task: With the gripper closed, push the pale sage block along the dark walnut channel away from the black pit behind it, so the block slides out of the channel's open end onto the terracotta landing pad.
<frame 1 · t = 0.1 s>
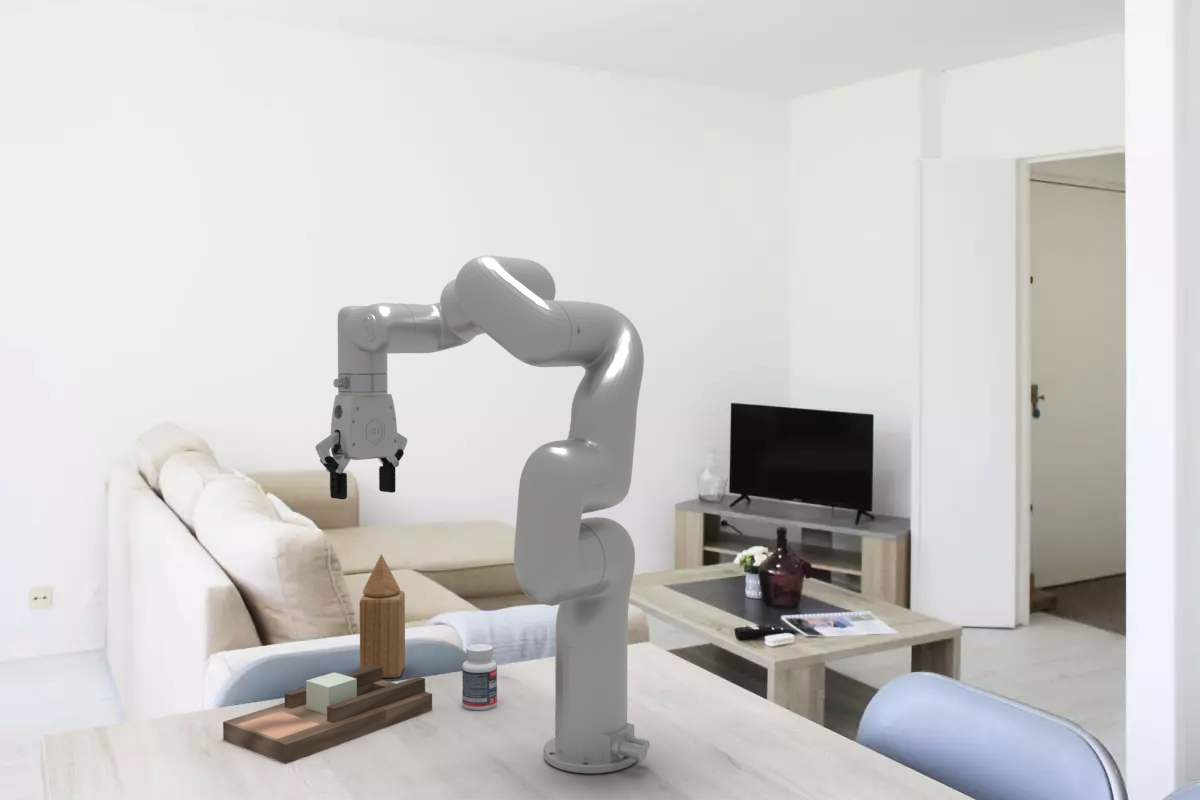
hand: (363, 495, 168), 31 cm above the table, tool pointing down, fingers open, 9 cm apart
sage block: (331, 707, 154), point 2 cm above the table, touching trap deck
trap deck: (331, 724, 154), on the table
pill bottle: (479, 706, 162), on the table
decorative item: (383, 674, 179), on the table
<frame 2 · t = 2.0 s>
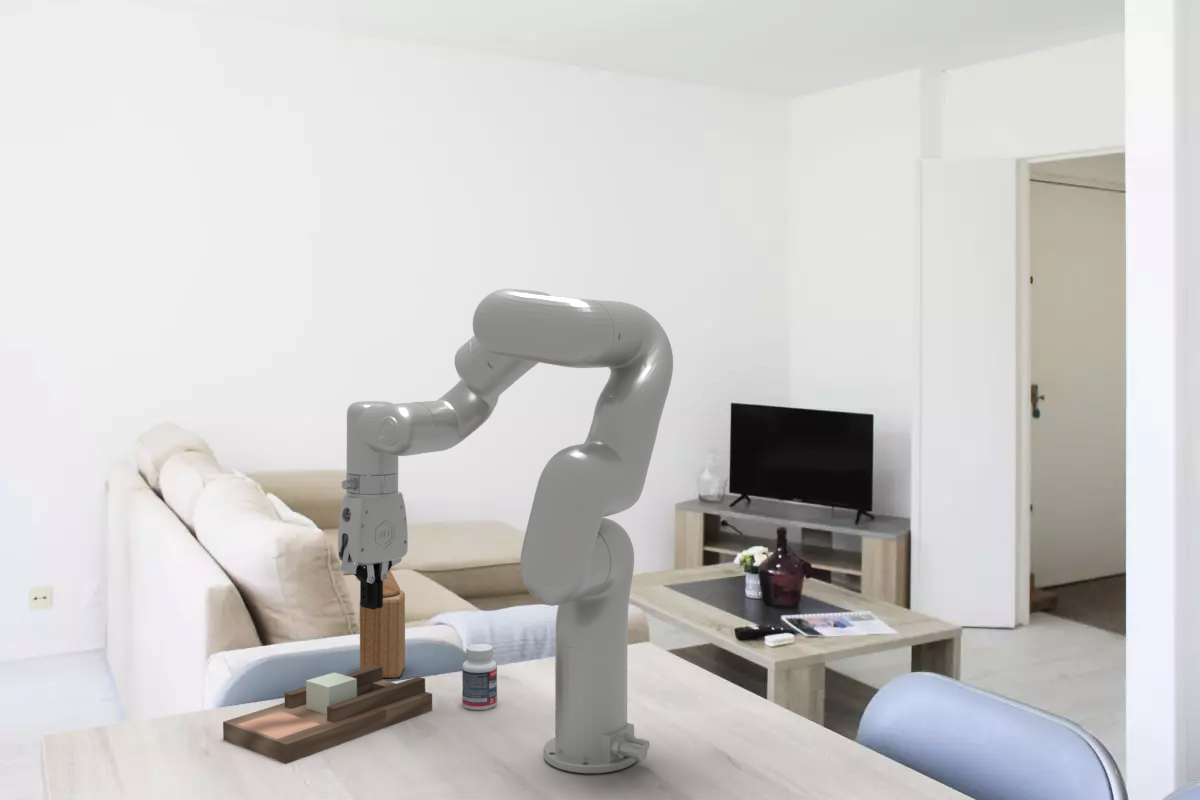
hand: (371, 606, 160), 15 cm above the table, tool pointing down, fingers closed
nothing on the table moved.
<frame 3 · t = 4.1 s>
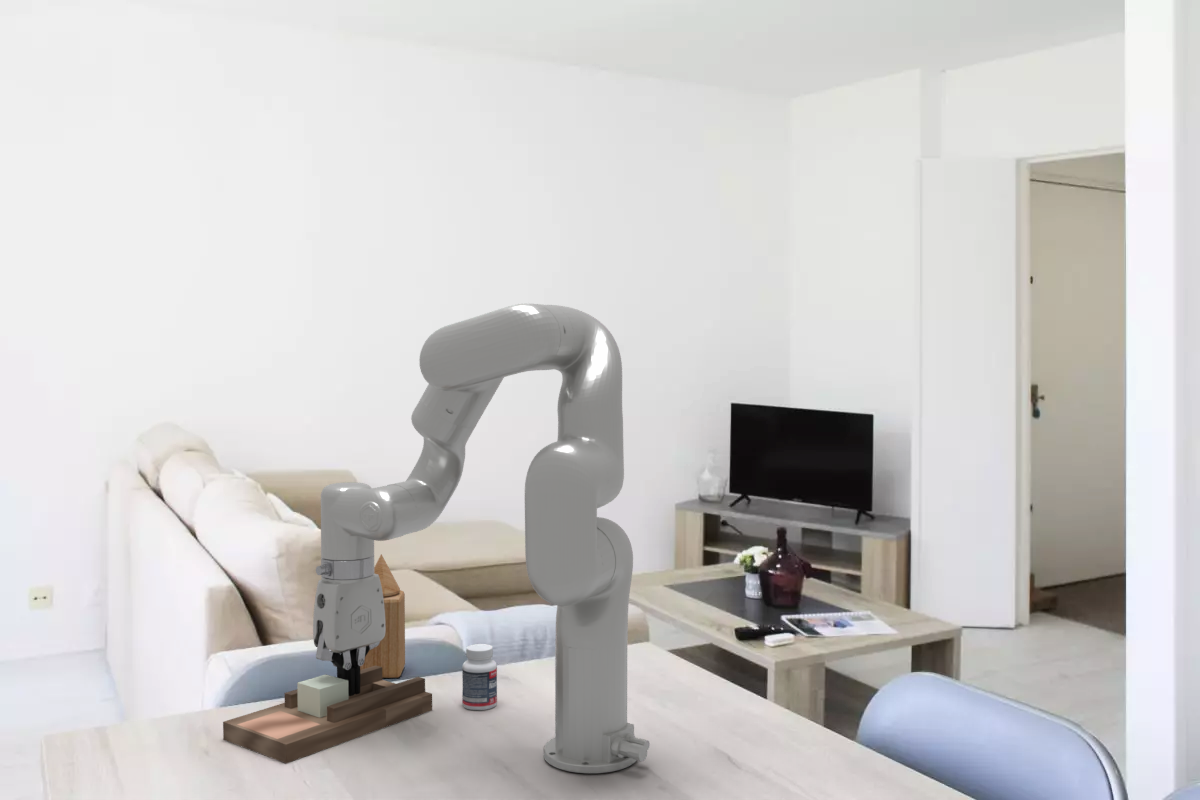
hand: (348, 692, 157), 4 cm above the table, tool pointing down, fingers closed
sage block: (323, 709, 153), point 3 cm above the table, touching gripper
everything else where it was.
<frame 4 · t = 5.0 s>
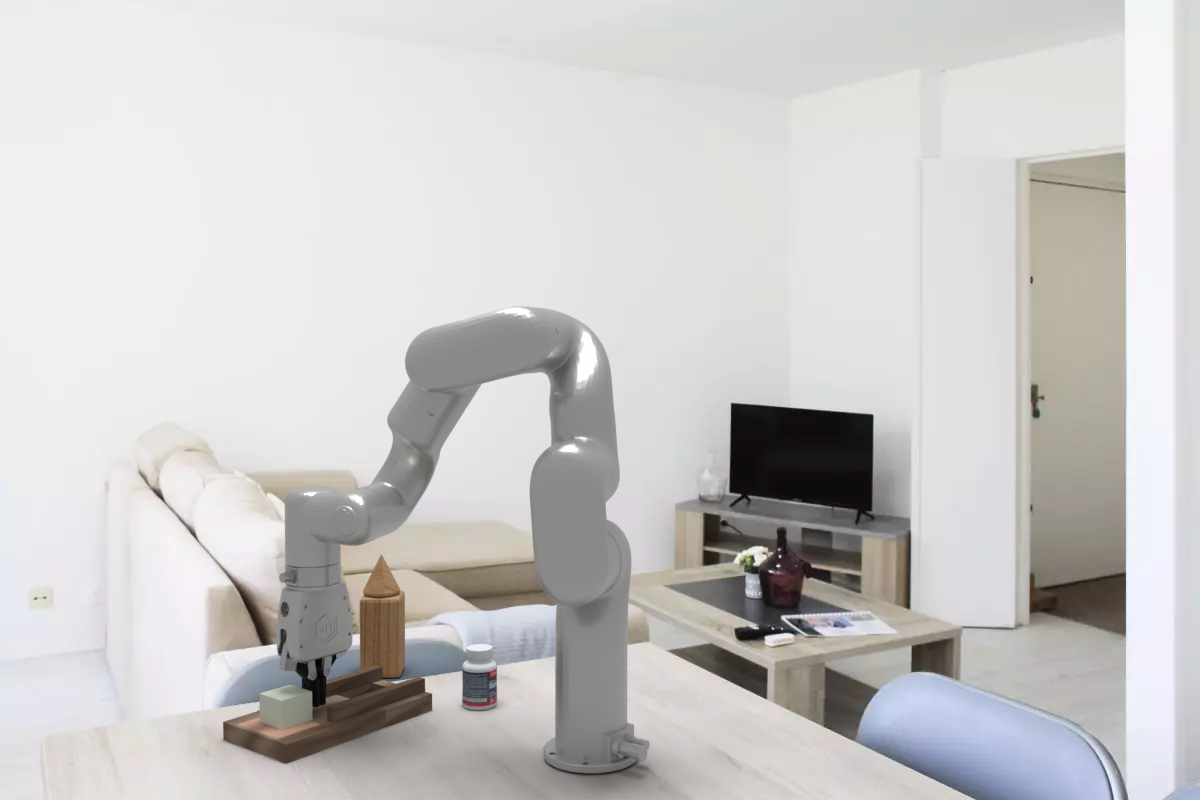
hand: (314, 703, 152), 4 cm above the table, tool pointing down, fingers closed
sage block: (286, 721, 148), point 3 cm above the table, touching gripper
everything else where it was.
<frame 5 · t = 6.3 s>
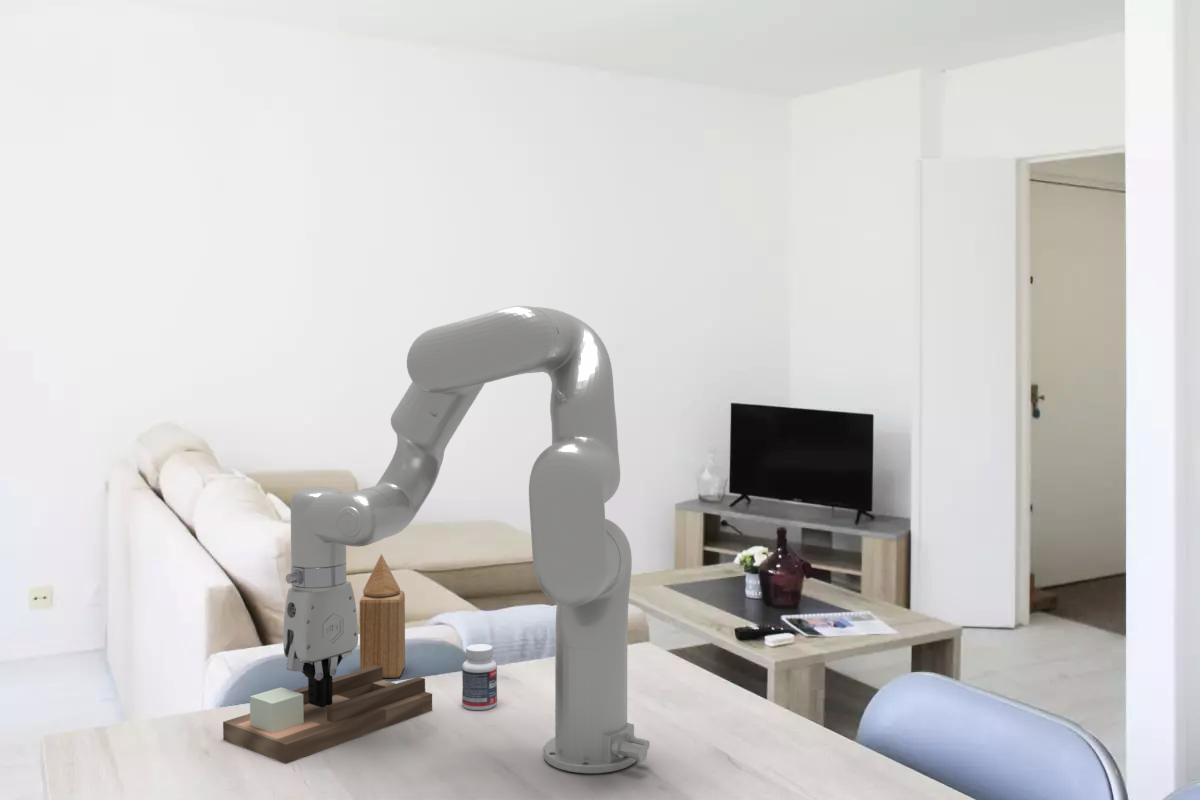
hand: (320, 703, 152), 4 cm above the table, tool pointing down, fingers closed
sage block: (277, 724, 147), point 3 cm above the table, touching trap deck
everything else where it was.
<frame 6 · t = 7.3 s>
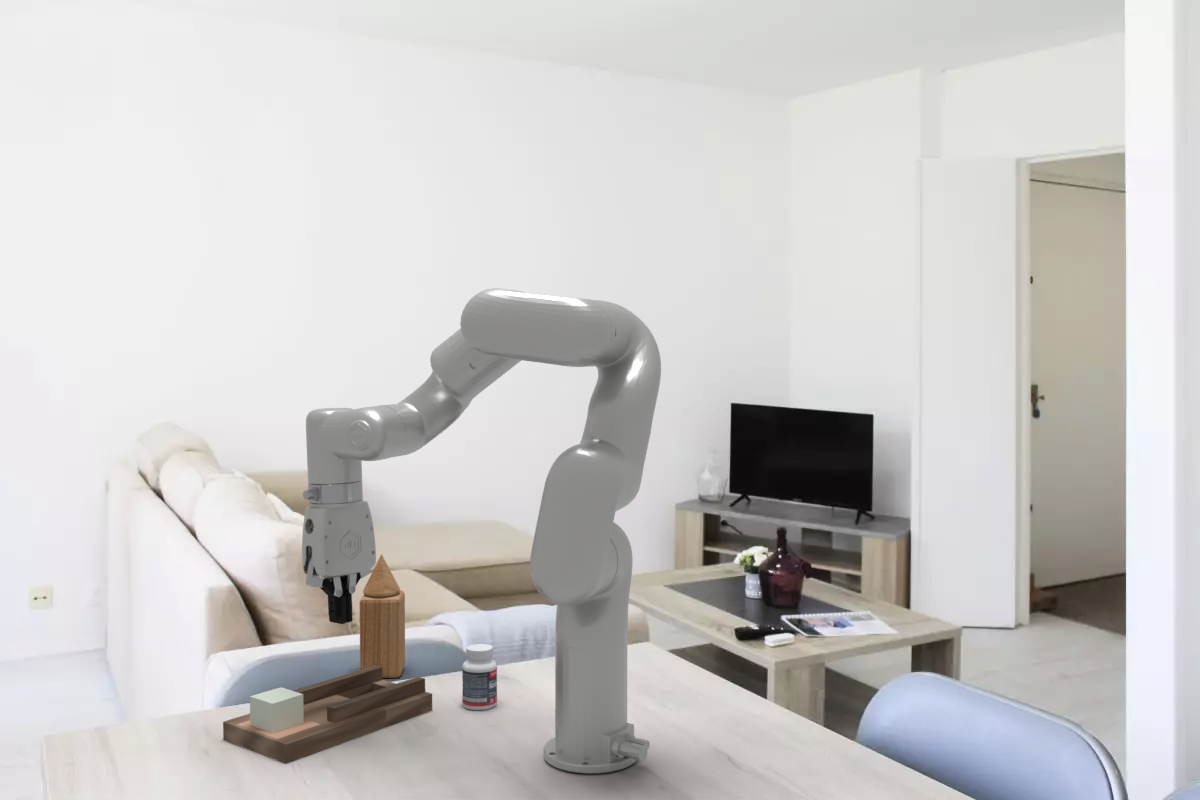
hand: (340, 621, 154), 15 cm above the table, tool pointing down, fingers closed
nothing on the table moved.
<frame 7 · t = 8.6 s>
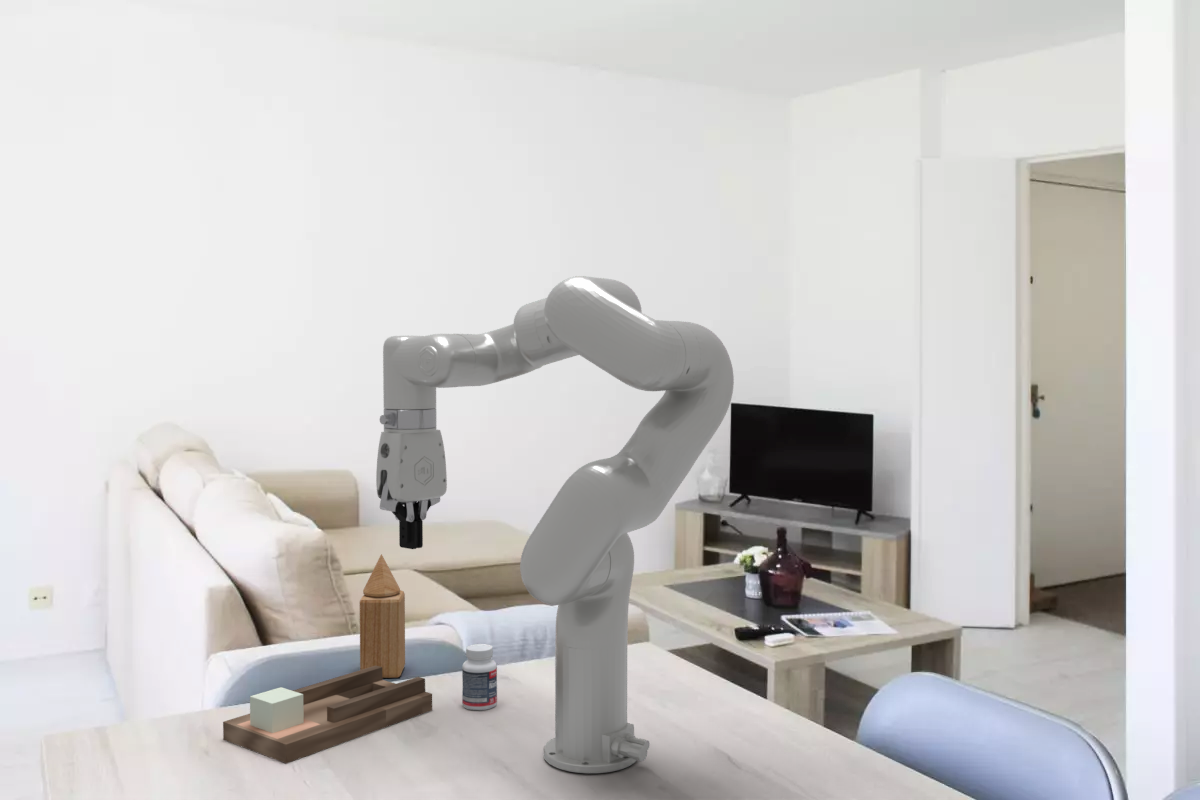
hand: (411, 547, 156), 25 cm above the table, tool pointing down, fingers closed
nothing on the table moved.
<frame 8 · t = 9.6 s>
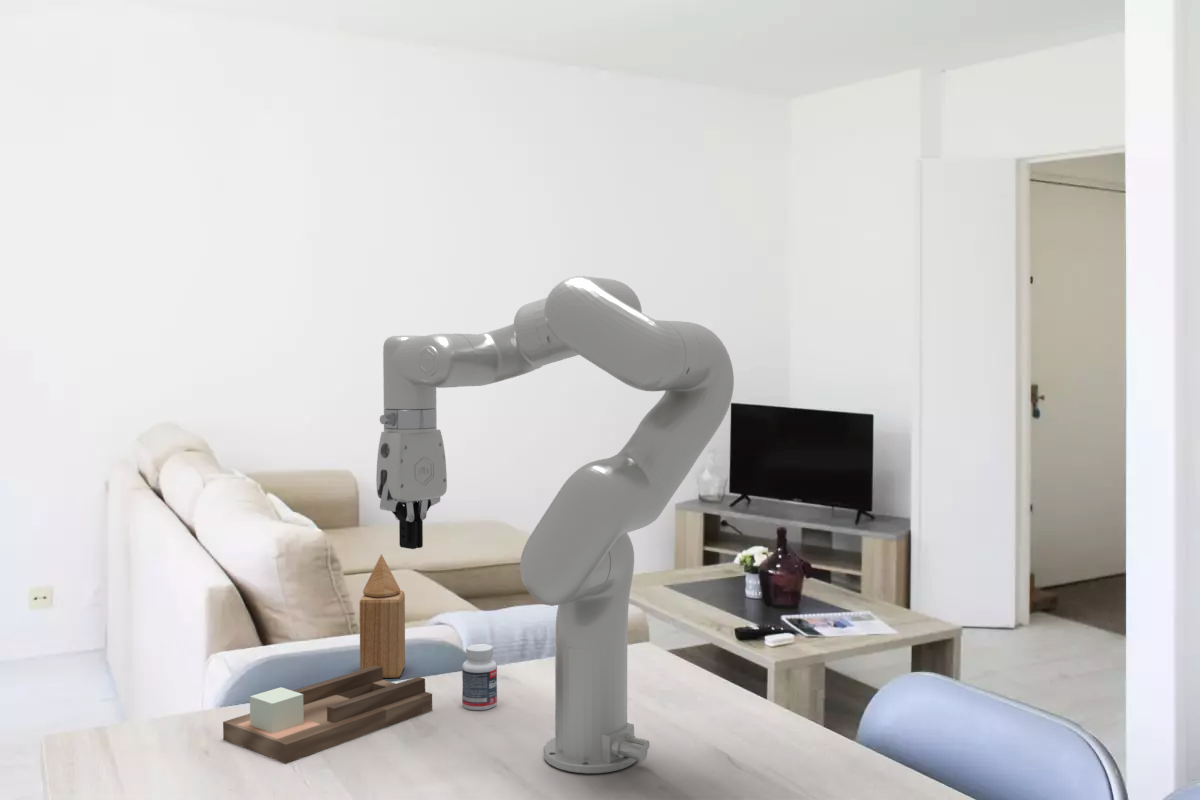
hand: (411, 547, 156), 25 cm above the table, tool pointing down, fingers closed
nothing on the table moved.
at the end: sage block inside the target area on the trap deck (0.3 cm from its centre), point 2.5 cm above the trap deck's base; sage block tilted 0°; the gripper is holding nothing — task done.
